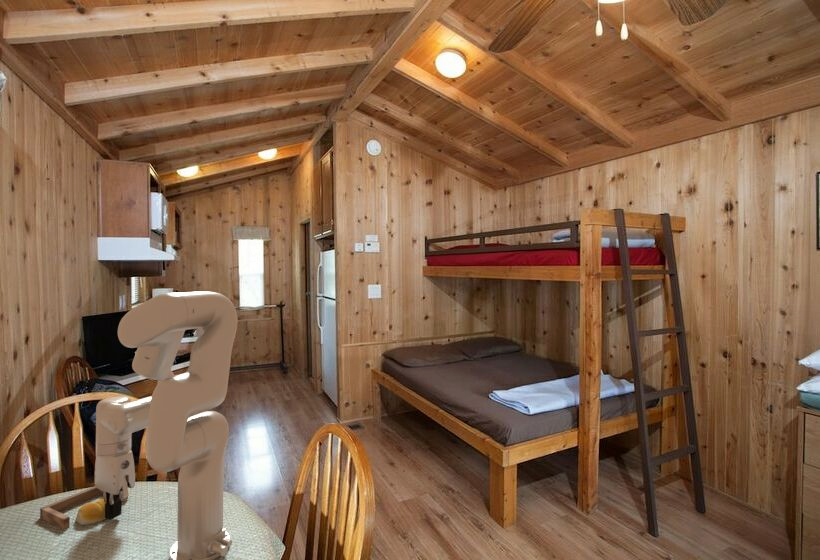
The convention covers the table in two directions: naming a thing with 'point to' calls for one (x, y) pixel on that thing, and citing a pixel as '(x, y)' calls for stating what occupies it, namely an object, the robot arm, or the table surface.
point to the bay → (53, 510)
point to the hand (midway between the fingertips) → (113, 516)
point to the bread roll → (91, 513)
